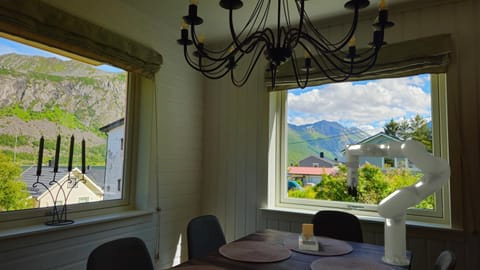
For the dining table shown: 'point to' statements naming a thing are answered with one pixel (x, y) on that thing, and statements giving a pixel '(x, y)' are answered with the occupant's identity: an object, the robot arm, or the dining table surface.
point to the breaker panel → (308, 243)
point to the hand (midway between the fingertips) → (352, 196)
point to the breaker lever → (307, 230)
